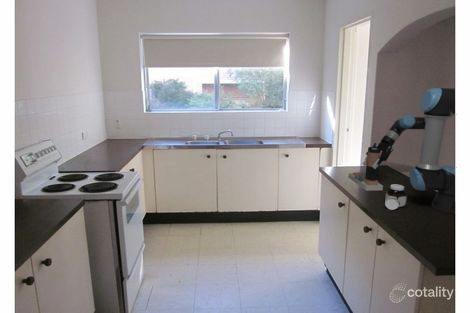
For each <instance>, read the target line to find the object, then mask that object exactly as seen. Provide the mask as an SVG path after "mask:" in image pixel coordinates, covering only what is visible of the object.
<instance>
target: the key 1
mask: <svg viewBox="0 0 470 313" xmlns="http://www.w3.org/2000/svg"><path fill="white" fill-rule="evenodd" d="M363 173H364V172H353V175H355V176H356V177H359V174H363Z"/></svg>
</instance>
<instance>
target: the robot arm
mask: <svg viewBox="0 0 470 313" xmlns="http://www.w3.org/2000/svg"><path fill="white" fill-rule="evenodd" d="M419 104H420V110H421V111H422V112H423V116H413V115H411V114H406V115H404V116H402V117H399V118H397V119H396V120H395V121H394V123H393V124H392V125H391V127H389V129H388V131H387V132H386V133H385V134H384V136H383V137H382V138H381V139H380V142H379V143H377V142H375V143H373V145H372V147H378V148H379V149H380V148H381V153H380V159H378V160H377V161H376V162H375V164H374V165H373V166H372V167H373V168H374V169H376V168H377V166H378V165H379V166H380V165H381V164H382V162H387V161H388V159H389V157H390V155H392V152H393V151H394V147H393V145H394V144H395V142H397V140H398V139H399V138H400V136H401V135H402V134H403V133H404V132H406V131H407V130H424V132H423V137H422V143H421V150H420V156H419V161H418V162H417V163H415V167H414V168H411V169H410V170H409V181H410V184H411V186H412V188H413V189H415V190H417V191H432V192H433V191H435V192H436V191H437V193H436V195H435V196H434V197H433V198H434V199H433V200H432V201H431V207H432V208H433V209H434V210H436V211H438V212H441V213H447V214H451V213H452V214H455V166H451V165H441V166H440V165H439V160H440V155H441V147H442V142H443V137H444V131H445V126H446V120H448V119H450V118H452V117H454V116H456V115H455V88H454V87H452V88H451V87H450V88H449V87H448V88H446V87H436V88H429V89H427V90H426V91H425V92H424V93H423V94H422V96H421V98H420V103H419ZM367 154H368V151H367V152H366V153H365V155H366V157H365V158H364V161H363V162H362V165H363V167H366V163H367ZM455 215H456V214H455Z"/></svg>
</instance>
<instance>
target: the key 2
mask: <svg viewBox="0 0 470 313" xmlns="http://www.w3.org/2000/svg"><path fill="white" fill-rule="evenodd" d="M364 183H366V184H367V185H378V183H379V181H378V179H377V180H369V179H366V178H365V181H364Z"/></svg>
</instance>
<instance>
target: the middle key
mask: <svg viewBox="0 0 470 313" xmlns="http://www.w3.org/2000/svg"><path fill="white" fill-rule="evenodd" d="M365 178H366V173H364V174H359V179H361V180H362V181H365Z"/></svg>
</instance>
